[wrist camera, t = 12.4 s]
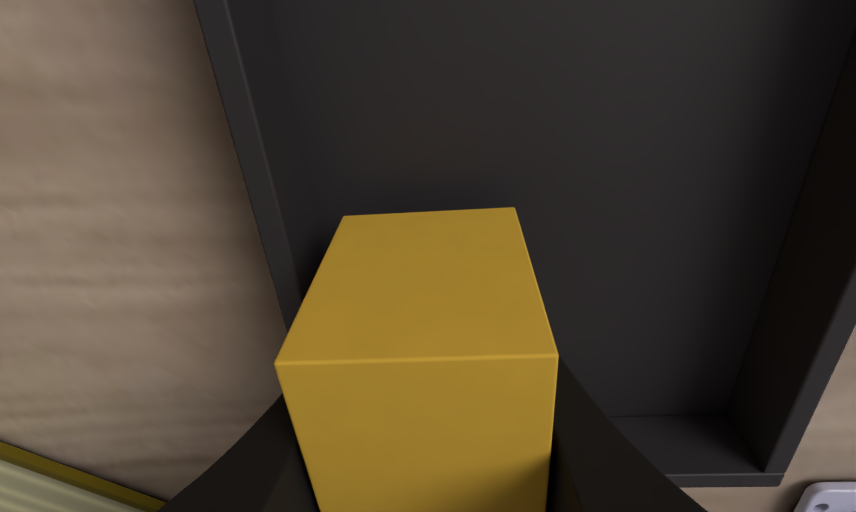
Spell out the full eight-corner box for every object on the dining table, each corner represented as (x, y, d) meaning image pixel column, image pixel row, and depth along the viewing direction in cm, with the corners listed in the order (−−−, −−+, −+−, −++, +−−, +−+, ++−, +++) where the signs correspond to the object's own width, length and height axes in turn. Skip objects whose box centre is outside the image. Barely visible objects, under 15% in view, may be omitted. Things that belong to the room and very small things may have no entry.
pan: (731, 414, 16) (780, 487, 14) (348, 422, 17) (331, 492, 14) (1074, -570, 6) (1434, -893, 4) (153, -425, 7) (14, -620, 5)
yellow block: (510, 419, 14) (538, 611, 10) (379, 422, 14) (349, 609, 10) (515, 205, 11) (559, 355, 6) (342, 214, 11) (271, 363, 7)
